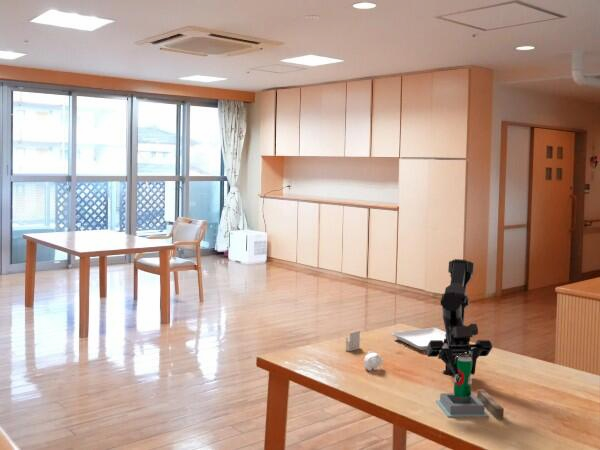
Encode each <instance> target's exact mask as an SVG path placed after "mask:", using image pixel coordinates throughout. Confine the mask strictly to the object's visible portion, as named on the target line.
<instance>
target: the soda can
mask: <svg viewBox="0 0 600 450" xmlns="http://www.w3.org/2000/svg"><path fill="white" fill-rule="evenodd" d="M471 357H472V356H471V355H469V354H463V353H461V354H457V355H456V358H455V367H456V373H457V374H456V375H454V376H453V393H454V394H455V395H456V396H458V397H462V398H466V397H469V396H470V395H471V393H472V381H473V380H472V379H473V375H472V364H473V359H472V358H471Z"/></svg>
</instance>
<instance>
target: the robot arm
mask: <svg viewBox="0 0 600 450" xmlns="http://www.w3.org/2000/svg"><path fill="white" fill-rule="evenodd" d="M447 270H448V274H450V278H451V279H450V282H449V283H450V284H449V285H448V286H446V287H445V290H444V293H442V295H441V299H440V306H441V310H442V321H443V326H444V332H446V334H445V337H446V339H444V343H443V341H442V340H431V341H430V342H429V344H428V346H427V348H426V350H425V351H426V357H430V358H431V357H432V358H433V357H435V358H436V357H437V358H438V359H439V360H442V362H444V364H445V370H443V371H442V374H446V375H450V376H453V377H454V375H456V374H457V373H456V367H455V358H456V355H457V354H461V353H463V354H469V355H471V356H472V357H471V358H472V359H473V364H472V376H475V373H476V365H477V360H478V358H479V357H487V356H489V354H490V352H491V351H492V349H493V345H492V344H493V343H492V341H490V339H477V340H476V341H475V343H471V344H470V342H471V338H473V336H477V335H478V334H479V330H478V329H479V328H478V324H477V323H470V324H469V325H464V324H465V312H466V311H465V310H466V308H468V306H469V304H470V299H469V297H468V295H467V287H468V285H469V284H470V283H471V281H472V275H474V274H475V273H474V272H475V263H474V262H472V261H470V260H466V259H462V258H461V259H459V258H455V259H452V260H449V261H448V269H447Z"/></svg>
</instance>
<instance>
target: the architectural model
mask: <svg viewBox="0 0 600 450" xmlns="http://www.w3.org/2000/svg"><path fill="white" fill-rule="evenodd" d="M360 334H361V331H360V330H357V331H356V330H352V331H351V332H350V333H349V335H348V337H346V338H345V339H344V340H343V343H345V351H347V352H351V351H354V350H359V349H360V343H361V342H360V341H362V339H361V335H360Z"/></svg>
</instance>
